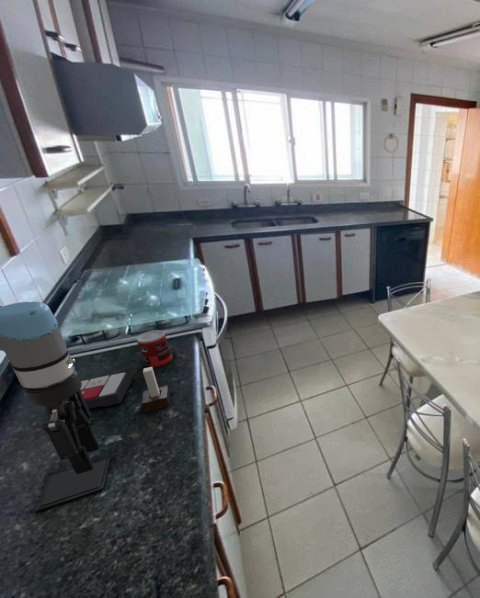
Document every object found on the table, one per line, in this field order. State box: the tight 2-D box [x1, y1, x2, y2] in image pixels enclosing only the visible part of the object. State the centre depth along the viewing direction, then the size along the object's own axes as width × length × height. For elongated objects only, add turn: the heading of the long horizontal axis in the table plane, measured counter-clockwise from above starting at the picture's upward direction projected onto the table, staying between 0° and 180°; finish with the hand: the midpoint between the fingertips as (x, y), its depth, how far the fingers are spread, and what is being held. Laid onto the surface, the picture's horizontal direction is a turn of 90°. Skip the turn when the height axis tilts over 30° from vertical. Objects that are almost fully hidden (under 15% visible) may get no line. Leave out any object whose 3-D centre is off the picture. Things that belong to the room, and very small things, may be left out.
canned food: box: [136, 329, 173, 369], centre depth 114 cm, size 8×8×11 cm
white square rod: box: [142, 367, 161, 398], centre depth 96 cm, size 2×2×13 cm
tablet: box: [34, 457, 111, 514], centre depth 75 cm, size 11×9×1 cm
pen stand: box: [141, 385, 171, 414], centre depth 98 cm, size 6×6×4 cm
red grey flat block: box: [80, 371, 133, 410], centre depth 98 cm, size 11×4×15 cm
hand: (88, 460), depth 74 cm, fingers open, 5 cm apart
